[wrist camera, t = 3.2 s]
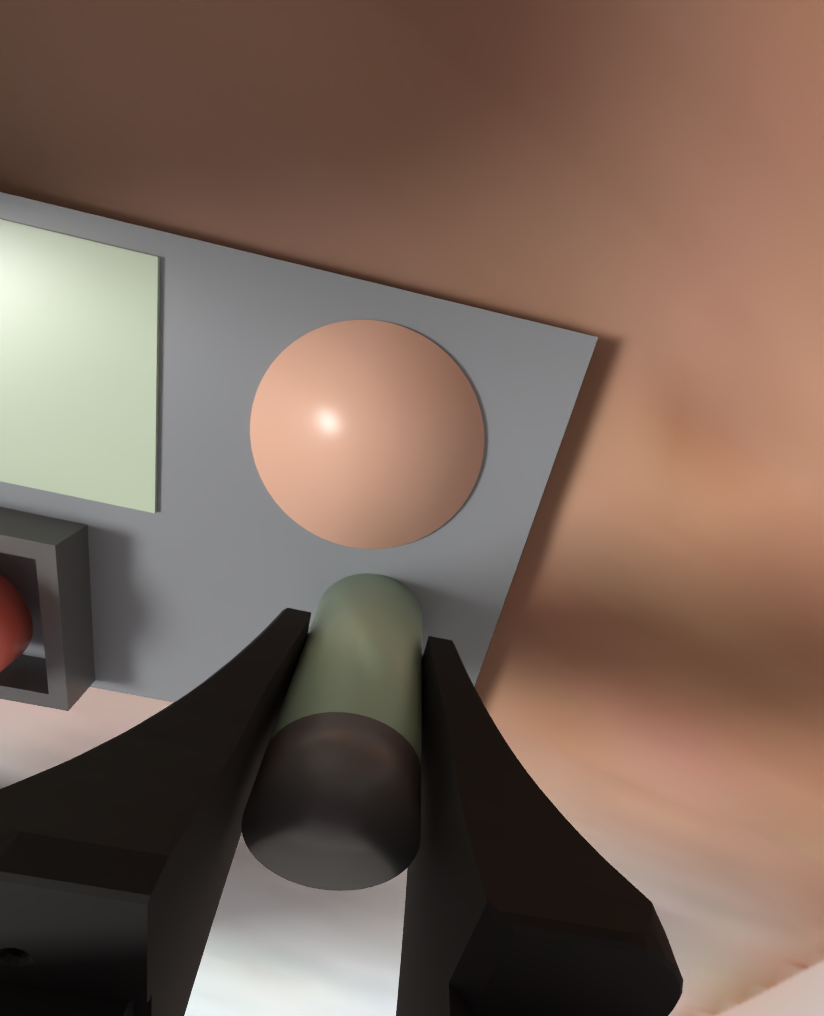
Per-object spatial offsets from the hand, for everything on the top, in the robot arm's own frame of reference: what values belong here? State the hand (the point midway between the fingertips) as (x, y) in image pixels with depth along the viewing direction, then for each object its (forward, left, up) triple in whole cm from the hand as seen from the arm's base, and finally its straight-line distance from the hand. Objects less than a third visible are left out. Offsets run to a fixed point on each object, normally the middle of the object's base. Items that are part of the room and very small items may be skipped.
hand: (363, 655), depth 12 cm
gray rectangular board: (+2, +5, -2) cm, 6 cm away
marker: (0, 0, -2) cm, 2 cm away
